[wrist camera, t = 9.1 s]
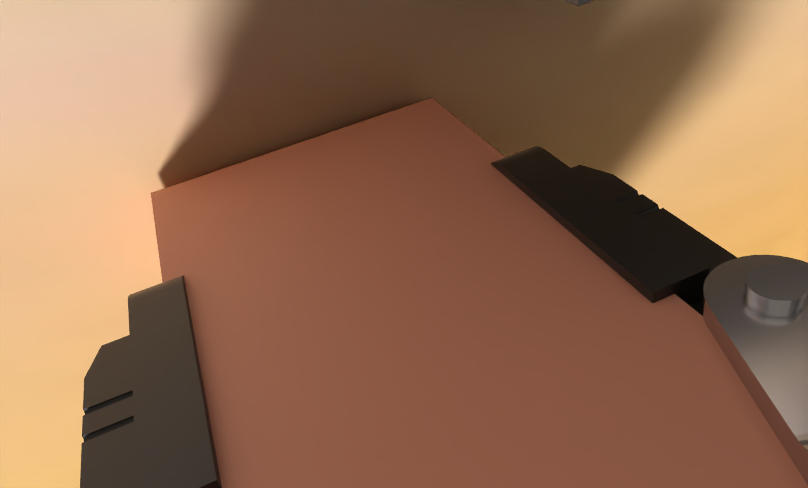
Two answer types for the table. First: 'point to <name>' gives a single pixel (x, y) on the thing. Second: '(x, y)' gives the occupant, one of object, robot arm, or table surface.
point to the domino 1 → (438, 330)
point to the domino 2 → (578, 2)
